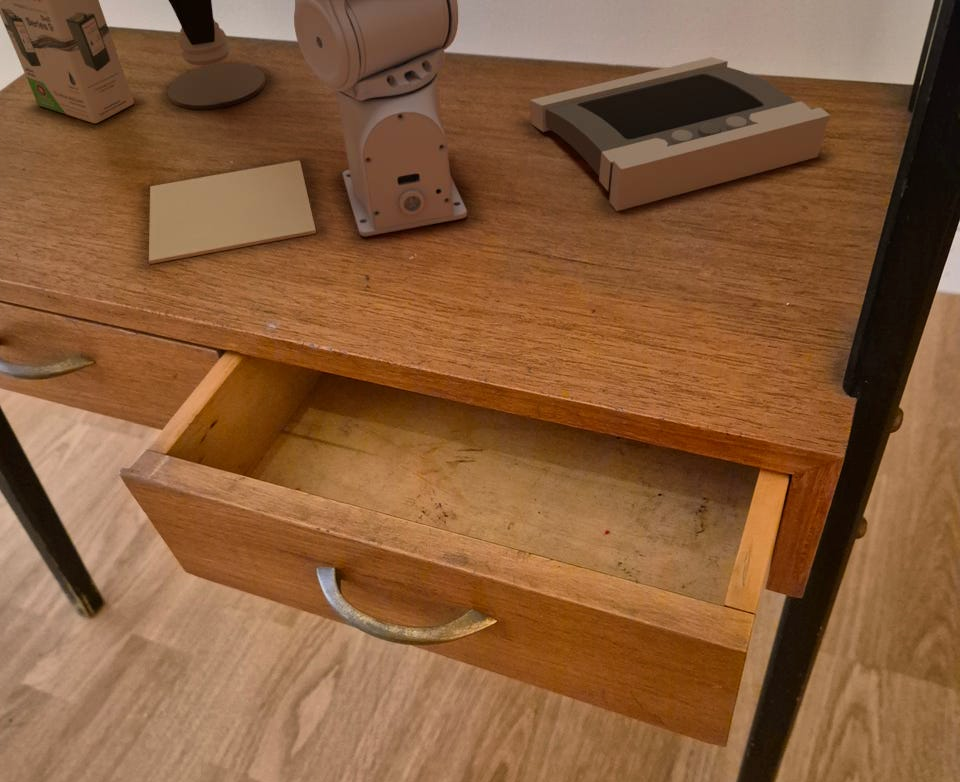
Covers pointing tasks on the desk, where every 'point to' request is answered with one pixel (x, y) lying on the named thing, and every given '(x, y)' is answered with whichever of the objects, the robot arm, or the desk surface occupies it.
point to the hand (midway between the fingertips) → (202, 33)
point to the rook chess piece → (205, 48)
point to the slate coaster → (216, 86)
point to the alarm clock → (681, 129)
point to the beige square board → (228, 211)
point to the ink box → (68, 56)
